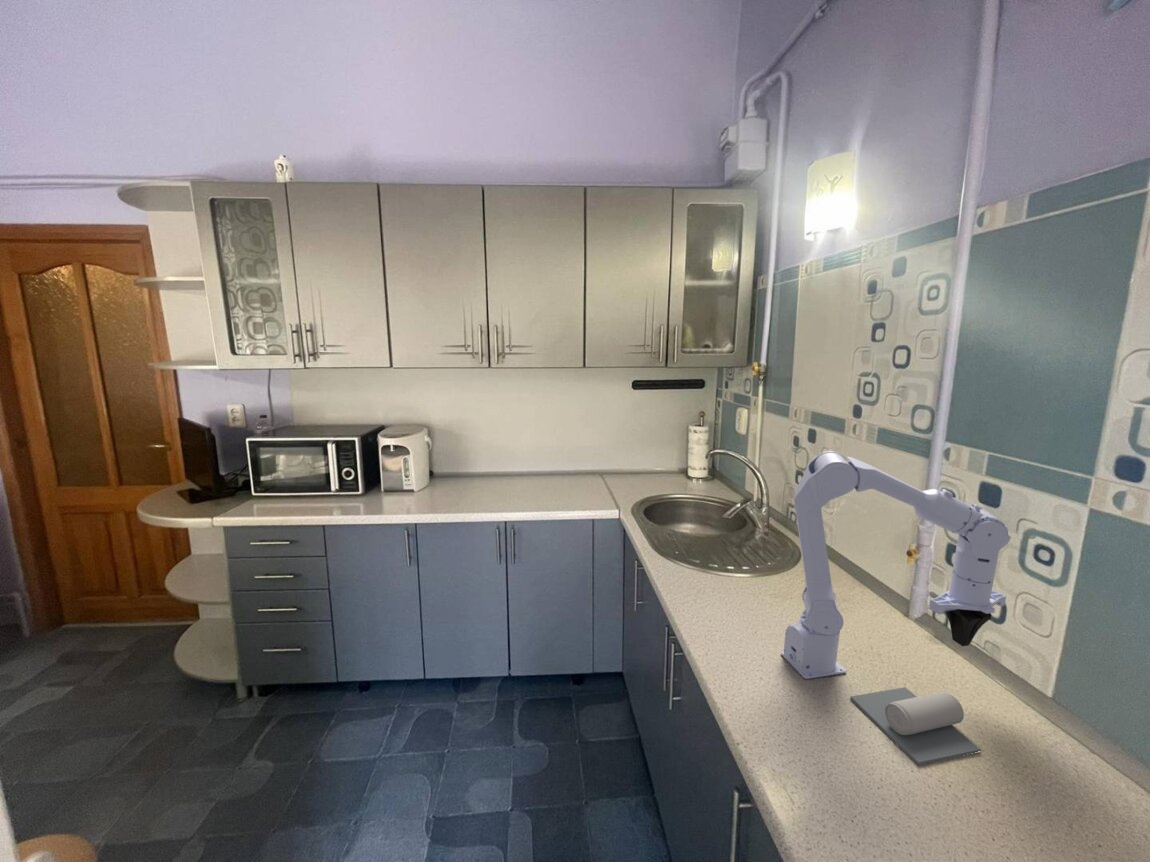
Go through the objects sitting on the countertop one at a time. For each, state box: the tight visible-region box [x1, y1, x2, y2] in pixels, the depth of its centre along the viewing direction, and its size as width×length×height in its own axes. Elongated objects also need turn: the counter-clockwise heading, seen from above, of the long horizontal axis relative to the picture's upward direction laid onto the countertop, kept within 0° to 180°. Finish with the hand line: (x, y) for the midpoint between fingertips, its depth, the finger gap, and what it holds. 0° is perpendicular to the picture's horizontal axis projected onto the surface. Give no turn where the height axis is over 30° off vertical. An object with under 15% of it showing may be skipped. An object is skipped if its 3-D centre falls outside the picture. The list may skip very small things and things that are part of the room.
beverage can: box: [885, 691, 965, 735], centre depth 80 cm, size 5×5×12 cm
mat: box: [850, 686, 982, 766], centre depth 81 cm, size 12×14×1 cm
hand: (960, 642), depth 87 cm, fingers closed
